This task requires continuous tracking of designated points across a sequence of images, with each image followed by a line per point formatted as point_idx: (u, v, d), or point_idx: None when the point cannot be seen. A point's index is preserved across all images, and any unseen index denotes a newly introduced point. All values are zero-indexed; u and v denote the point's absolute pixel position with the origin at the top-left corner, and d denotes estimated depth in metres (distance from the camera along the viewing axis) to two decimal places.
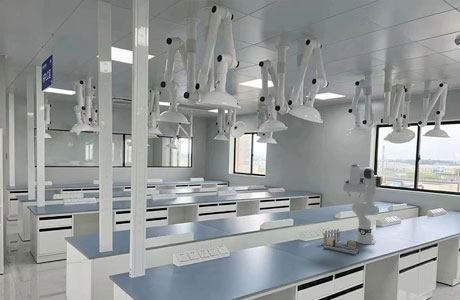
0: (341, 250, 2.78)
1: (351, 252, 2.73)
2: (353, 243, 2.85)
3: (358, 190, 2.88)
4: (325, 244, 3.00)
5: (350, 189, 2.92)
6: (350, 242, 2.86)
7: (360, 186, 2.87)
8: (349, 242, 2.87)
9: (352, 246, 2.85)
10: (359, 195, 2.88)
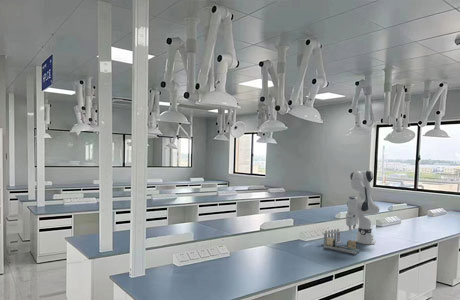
0: (341, 250, 2.78)
1: (351, 252, 2.73)
2: (353, 243, 2.85)
3: (355, 222, 2.90)
4: (325, 244, 3.00)
5: (353, 223, 2.84)
6: (350, 242, 2.86)
7: (356, 218, 2.91)
8: (349, 242, 2.87)
9: (352, 246, 2.85)
10: (354, 227, 2.91)
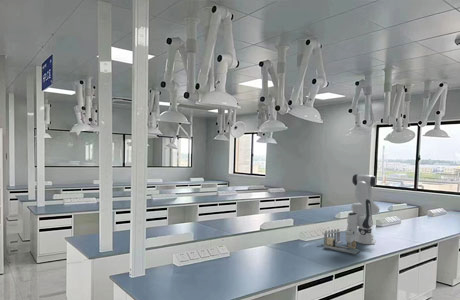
0: (341, 250, 2.78)
1: (351, 252, 2.73)
2: (353, 243, 2.85)
3: (355, 238, 2.89)
4: (325, 244, 3.00)
5: (352, 239, 2.84)
6: None
7: (356, 233, 2.91)
8: None
9: (352, 246, 2.85)
10: None
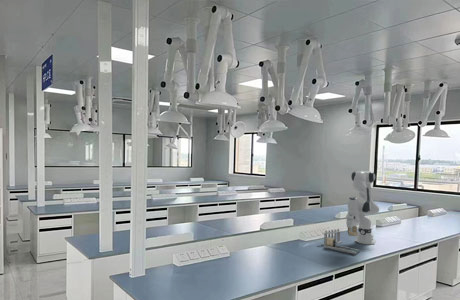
0: (341, 250, 2.78)
1: (351, 252, 2.73)
2: (354, 228, 2.75)
3: (356, 223, 2.79)
4: (325, 244, 3.00)
5: (353, 224, 2.74)
6: None
7: (357, 219, 2.81)
8: None
9: (353, 231, 2.75)
10: None
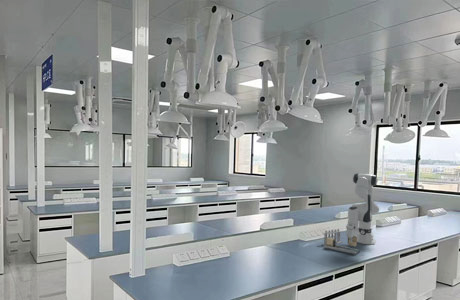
0: (341, 250, 2.78)
1: (351, 252, 2.73)
2: (354, 238, 2.74)
3: (356, 233, 2.79)
4: (325, 244, 3.00)
5: (353, 234, 2.73)
6: None
7: (357, 228, 2.81)
8: None
9: (353, 241, 2.75)
10: None
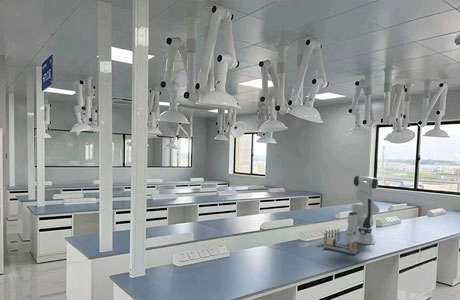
0: (341, 250, 2.78)
1: (351, 252, 2.73)
2: (354, 245, 2.74)
3: (356, 238, 2.79)
4: (325, 244, 3.00)
5: (353, 240, 2.74)
6: None
7: (356, 234, 2.81)
8: None
9: (353, 248, 2.75)
10: None
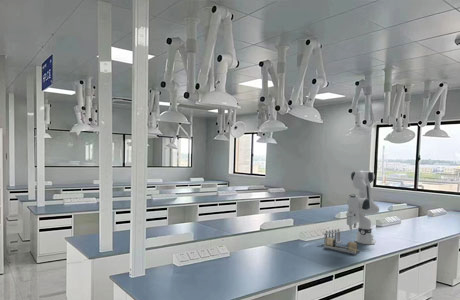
0: (341, 250, 2.78)
1: (351, 252, 2.73)
2: (354, 245, 2.74)
3: (356, 221, 2.80)
4: (326, 244, 3.00)
5: (353, 222, 2.74)
6: (351, 244, 2.76)
7: (357, 216, 2.81)
8: (350, 244, 2.77)
9: (353, 248, 2.75)
10: (355, 226, 2.81)
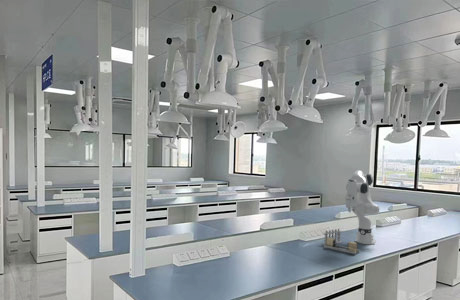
0: (341, 250, 2.78)
1: (351, 252, 2.73)
2: (354, 245, 2.74)
3: (355, 204, 2.93)
4: (326, 244, 3.00)
5: (352, 205, 2.88)
6: (351, 244, 2.76)
7: (355, 200, 2.95)
8: (350, 244, 2.77)
9: (353, 248, 2.75)
10: (353, 209, 2.95)
